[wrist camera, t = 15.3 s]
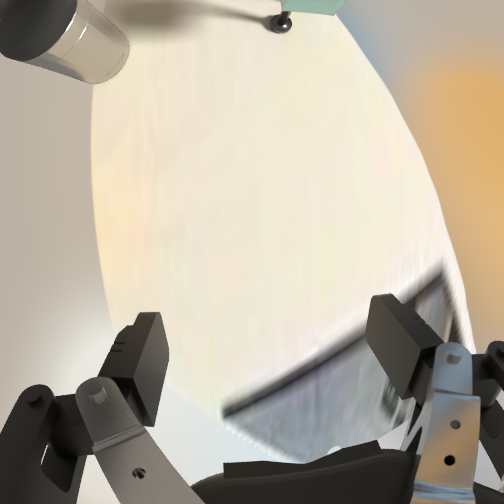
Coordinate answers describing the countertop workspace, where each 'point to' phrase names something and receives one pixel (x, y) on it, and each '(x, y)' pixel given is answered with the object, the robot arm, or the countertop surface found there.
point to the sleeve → (313, 6)
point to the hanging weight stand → (281, 22)
